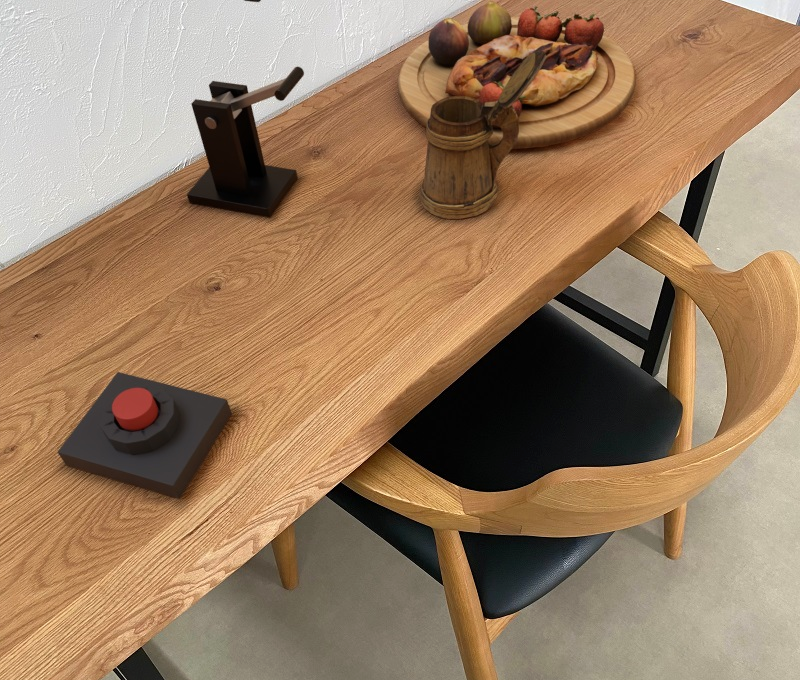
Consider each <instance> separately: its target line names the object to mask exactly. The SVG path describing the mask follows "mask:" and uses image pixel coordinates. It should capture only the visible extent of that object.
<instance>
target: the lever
mask: <svg viewBox="0 0 800 680" xmlns="http://www.w3.org/2000/svg"><path fill="white" fill-rule="evenodd" d="M304 75H305V71H304V69H303V68H302V67H301V66H295V67H294V68H293V69H292V70H291V71H290V73H289V74H288V75H287V76H286V77H285V78H283V79H280V80H277V81H275V82H272V83H270V84H267V85H265V86H262V87H260V88H257V89H254V90H252V91H248V93H247V94H244V95H242V96H239V97H237V98H234V97H233V95H232V94H231V92H227V93H225V94H222V95H220V96H217V97H215V98H213V99H212V98H211V99H210V101H212V102H219V103H226V104H231V108H232V112H233V116H234V119H235V118H236V117H237V116H238V114H239V113H240V112H241V111H242V108H244V107H247V106H249V105H251V106H252V105H255V104H258V103H260V102H262V101H265V100H268V99H270V98H273V97H275V99H276V100H277V101H278V102H279V101H280V102H282V101H285V99H286V98H287V97H288V96H289V94H290V93H291V92H292V91H293V89H294V88H296V86H297V84H298V83H299V82H300V81H301V80H302V78H303V77H304Z"/></svg>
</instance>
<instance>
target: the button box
mask: <svg viewBox="0 0 800 680" xmlns="http://www.w3.org/2000/svg"><path fill="white" fill-rule="evenodd" d="M132 388H143V389H146V390H148V391H149V392H150V393H151V394H152V396H153V398H154V401H155V403H156V405H157V407H158V415H157V418H156V419H155V421H154V422H153V423H152V424H151V425H149V426H148V427H146V428H144V429H141V430H137V431H130V430H126V429H124V428H122V427H121V426H120V424H119V423H118V421H117V419H116V417H115V415H114V414H113V411H112V404H113V402H114V400H115V398H116V397H117V396H118V395H119V394H121V393H122V392H124V391H126V390H128V389H132ZM232 415H233V412H232V409H231V407H230V404H229V402H228V399H227V398H223V397H219V396H215V395H211V394H207V393H204V392H199V391H195V390H192V389H188V388H184V387H179V386H176V385H171V384H168V383H164V382H159V381H156V380H152V379H148V378H144V377H141V376H135V375H131V374H128V373H124V372H120V371H117V372H116V373H115V375H114V376H113V377H112V379H111V380H110V381H109V383H108V384H107V386H106V387H105V388H104V389H103V391H102V392H101V393H100V395H99V396H98V397H97V399H96V400H95V401H94V403H93V404H92V405H91V406H90V408H89V409H88V410H87V412H86V413H85V415H84V416H83V417H82V418H81V420H80V421H79V422H78V424H77V425H76V427H75V428H74V429H73V430H72V432H70V434H69V436H68V437H67V438H66V440H65V441H64V442H63V444H62V445H61V446H60V448H59V449H58V450H57V454H58V456H59V457H60V458H61V460H62V462H63V463H64V465H65V466H66V467H69V468H71V469H72V468H73V469H76V470H79V471H83V472H86V473H89V474H92V475H96V476H100V477H102V478H107V479H109V480H113V481H116V482H119V483H123V484H127V485H130V486H133V487H137V488H139V489H144V490H147V491H150V492H154V493H157V494H160V495H164V496H167V497H170V498H174V499H178V500H181V498H183V495H184V494H185V492H186V490H187V488H188V487H189V486H190V484H191V482H192V480H193V479H194V477H195V476H196V473H197V472H198V470H199V469H200V467H201V466H202V464H203V463H204V461H205V459H206V457H207V456H208V454H209V452H210V451H211V449H212V447H213V446H214V445H215V443H216V441H217V439H218V438H219V437H220V435H221V432H222V431H223V430H224V428H225V426H226V425H227V424H228V422H229V420H230V419H231V417H232Z"/></svg>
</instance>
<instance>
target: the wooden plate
mask: <svg viewBox="0 0 800 680" xmlns="http://www.w3.org/2000/svg"><path fill="white" fill-rule="evenodd" d="M537 8H538V6H537V5H535V6H534V7H529V8H526V9H524V11H522V12H521V14H520V15H519V16H511V14H510V13H509V11H508V10H507V8H506V7H504V6H503V5H501V4H499V3H497V2H495V1H493V0H489V1H488V2H487V3H485V4H483V5H480V7H478V8H477V9H476V10H475V11H474V12H473V13H472V14H471V16H470V17H469V19H468V22H467V23H463V24H460V23H459V22H458V21H456V20H455V19H453V18H450V17H447V18H444V19H442V20H441V21H439V22H437V23H436V24H435V25H434V26H433V27H432V28H431V30H430V32H429V35H428V39H427V40H426V41H424V42H423V43H421V44H420V45H418V46H417V47H416V48H415V49H414V50H413V51H412V52H411V53H410V54H409V55H408V56H407V58H406V59H405V61H404V62H403V63H402V65H401V68H400V70H399V74H398V77H397V85H396V86H397V93H398V96H399V100H400V102H401V103H402V105H403V107H404V108H405V110H406V112H407V113H408V114H409V115H410V116H411V118H413V120H414V121H416V122H417V123H419V124H420V125H421V126H423V127H424V128H426V127H427V121H428V119H429V118H430V113H431V108H432V105H433V104H434V103H436V102H437V101H439V100H441V99H443V98H446V97H451V96H466V97H471V98H474V99H477V100H478V101H479V102H481V104H483V103H486V102H496V101H497V100H498V99H499V97H500V95H501V93H502V91H503V90H504V88H505V86H506V84H507V83H508V81H509V80H510V78H511V77H512V75H513V74H514V72H515V71H516V70H517V68H518V67H519V66H520V65H521V63H522V62H523V61H524V60H525V59H526V58H527V57H528V56H529V55H530V54H532V53H534V52H537V51H544V52H545V54H546V56H547V57H546V59H545V61H544V63H543V65H542V67H541V69H540V70H539V72H538V74H537V75H536V77H535V78H534V80H533V81H532V83H531V84H530V85H529V86H528V88H527V89H526V90H525V91H524V93H523V94H522V95H521V96H520V97H519V98H518V99H517V101H516V102H514V103H513V104H512V106H513V107H514V109H515V111H516V113H517V116H518V119H519V129H520V131H519V134H518V138H517V141H516V143H515V144H514V146H513V147H512V149H530V148H540V147H541V148H542V147H547V146H553V145H557V144H562V143H566V142H567V143H568V142H569V141H573V140H576V139H579V138H583V137H584V136H587V135H589V134H592V133H595V132H596V131H597V130H599V129H602V128H603V127H605V126H606V125H608V124H609V123H611V122H612V121H613V120H615V119H616V118H618V116H619V115H620V114H621V113H622V112H623V111H624V110H625V109H626V108H627V106H628V104H629V102H630V101H631V99H632V98H633V95H634V93H635V89H636V85H637V75H636V70H635V67H634V64H633V61H632V60H631V58H630V56H629V55H628V54H627V52H625V50H624V49H623V47H622V46H621V45H619V44H618V43H617V42H615V41H614V40H612V39H611V38H609V37H608V36H606V35H604V34H605V33H604V32H605V26H604V23H603V22H602V21H601V20H600V17H599V16H597V17H595V15H596V14H595V13H592V14H590V15H589V18H587V17H582V16H581V15H580V14H578V13H574V15H573V19H572V17H568V18H565V20H564V21H563V20H561V18H560V17H559V16H558V15H559V11H558V10H556V11H555V12H554V13H553V12H551V13H549V14H543V16H541V14H540V12H539V11H538V9H537ZM594 17H595V18H594ZM492 129H493V134H492V135H491V137H490V138H489V139H488V143H489V144H491V145H494V144H497V143H499V142H500V141H501V140H502V138H503V131H502V130H501V128H500V127H499V126H496V125H492Z"/></svg>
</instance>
